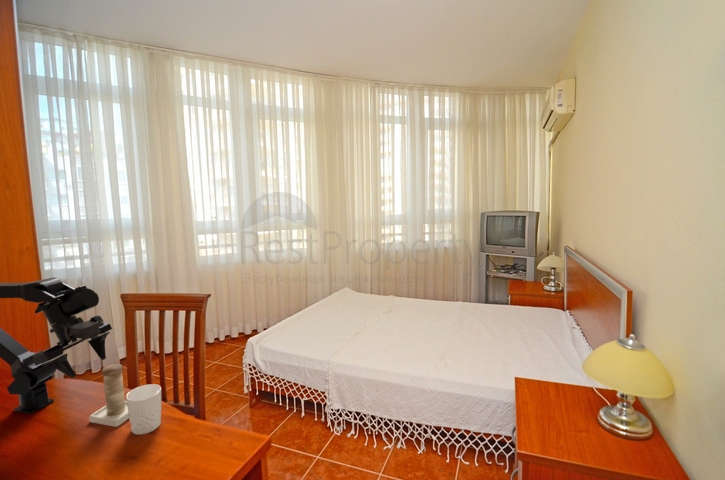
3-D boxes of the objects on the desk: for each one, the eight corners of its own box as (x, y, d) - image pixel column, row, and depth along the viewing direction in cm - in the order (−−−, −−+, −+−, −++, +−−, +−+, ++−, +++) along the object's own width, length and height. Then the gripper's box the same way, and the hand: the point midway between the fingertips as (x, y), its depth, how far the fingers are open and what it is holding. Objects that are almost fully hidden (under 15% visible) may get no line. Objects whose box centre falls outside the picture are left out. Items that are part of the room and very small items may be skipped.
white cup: (169, 418, 96) (167, 384, 95) (149, 437, 88) (147, 401, 87) (143, 416, 97) (141, 383, 96) (121, 435, 89) (118, 399, 88)
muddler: (102, 417, 94) (98, 372, 93) (112, 406, 99) (108, 364, 97) (120, 415, 95) (116, 371, 93) (129, 405, 100) (125, 363, 98)
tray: (89, 421, 94) (89, 415, 94) (116, 404, 102) (115, 399, 102) (116, 426, 92) (116, 420, 92) (141, 409, 100) (141, 403, 100)
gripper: (47, 326, 87) (77, 379, 88) (112, 299, 105) (136, 344, 106) (18, 338, 89) (48, 390, 91) (86, 310, 107) (110, 354, 109)
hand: (89, 367), depth 99 cm, fingers open, 9 cm apart
